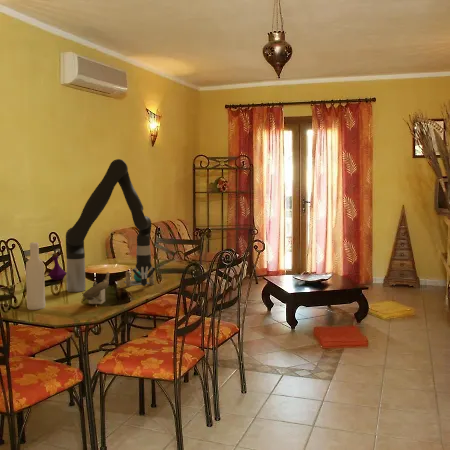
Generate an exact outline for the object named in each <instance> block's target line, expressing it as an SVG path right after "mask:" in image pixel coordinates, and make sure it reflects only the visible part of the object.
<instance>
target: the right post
mask: <svg viewBox="0 0 450 450" xmlns="http://www.w3.org/2000/svg"><path fill="white" fill-rule="evenodd" d="M149 272H150V270H149V271H148V273H149ZM148 283H149V284H148V285H150V286H153V285H155V271H154V272H153V274H152V275H151V276H150V277H149V278H148Z"/></svg>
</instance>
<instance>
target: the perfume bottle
mask: <svg viewBox="0 0 450 450" xmlns="http://www.w3.org/2000/svg"><path fill="white" fill-rule="evenodd" d="M53 251H54V252H53V253H51V259H52V260H53V262H54V265H53V266H54V267H53V268H52V269H51V271H49V273H47V275H48V277H49V278H51V279H50V280H53V281H60V280H63V279H64V278H65V277H66V272H67V271H65V270H64V269H63V268H62V267H61V266H60V264H59V262H58V260H59V258H60V257H59V256H58V253H60V252H61V250H60V248H56V249H54V250H53ZM56 252H58V253H56Z"/></svg>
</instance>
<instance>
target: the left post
mask: <svg viewBox="0 0 450 450" xmlns="http://www.w3.org/2000/svg"><path fill="white" fill-rule="evenodd" d="M131 273H132V272H131V271H125V281H126V283H125V287H127V288H130V287H132V286H131V281H132V274H131Z"/></svg>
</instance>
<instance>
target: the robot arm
mask: <svg viewBox="0 0 450 450" xmlns="http://www.w3.org/2000/svg"><path fill="white" fill-rule="evenodd" d="M128 169H129V168H128V164H127V163H126V162H125V161H124V160H123V159H119V158H117V159H114V160H112V162H110V164H109V166H108V168H107V170H106V172H105V174H104V176H103V178H102V179H101V181H100V182H99V184H98V185H97V186H96V187H95V188H94V190H93V192H92V193H91V194H90V196H89V197H88V199H87V201H86V202H85V205H84V206H83V209H82V212H81V214H80V216H79V218H78V220H77V221H76V222H75V224H73V226H71V227H70V228H68V230H66V233H65V256H66V271H65V272H66V275H65V277H66V278H65V279H66V291H67V292H68V293H78V292H79V293H80V292H85V290H86V261H85V259H86V257H85V255H86V253H85V239H86V237H87V235H88V233H89V231H90V229H91V227H92V226H93V224H94V223H95V222H96V220H97V219H98V217H99V216H100V215H101V213H103V210H104V209H105V208H106V206H107V204H108V203H109V201H110V199H111V196H112V194H113V191H114V189H115V187H116V186H117V184H118V185H119V187H120V189H121V190H122V194H123V197H124V199H125V202H126V205H127V207H128V209H129V210H130V212H131V218H132V222H133V224H134V226H135V227H136V229H137V230H138V234H137V236H136V249H135V250H136V251H135V252H136V264H135V267H133V268H132V269H131V271H132V272H133V274H135V275H136V276H137V277H138V278H141V284H142V285H141V286H142V287H146V286H147V285H148V284H147V282H148V279H149V277H150V276H151V275H152V274H153V272H154V273H155V270H156V267H154V266H153V265H152V262H151V261H152V260H151V259H152V254H151V253H152V252H151V233H152V220H151V218H150V217H149V216H147V215H145V213H144V205H143V203H142V201H141V199H140V197H139V195H138V193H137V190H136V189H135V187H134V186H133V185H134V184H133V183H132V180H131V177H130V173H129V170H128ZM149 270H150V272H149ZM138 271H139V272H140V275H139V274H138V273H137V272H138Z"/></svg>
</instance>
